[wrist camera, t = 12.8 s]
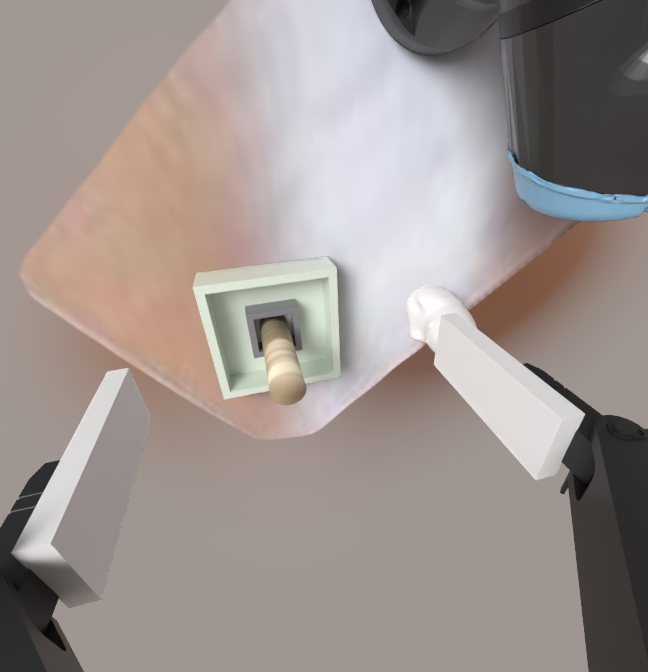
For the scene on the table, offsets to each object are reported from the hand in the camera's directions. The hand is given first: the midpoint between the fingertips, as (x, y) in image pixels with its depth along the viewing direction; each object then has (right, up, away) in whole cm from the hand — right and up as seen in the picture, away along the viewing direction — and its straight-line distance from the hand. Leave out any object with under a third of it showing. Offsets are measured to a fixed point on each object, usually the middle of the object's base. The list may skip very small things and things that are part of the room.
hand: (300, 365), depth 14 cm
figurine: (+16, +6, +35) cm, 39 cm away
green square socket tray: (-6, +3, +31) cm, 32 cm away
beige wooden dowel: (-6, +3, +30) cm, 31 cm away
